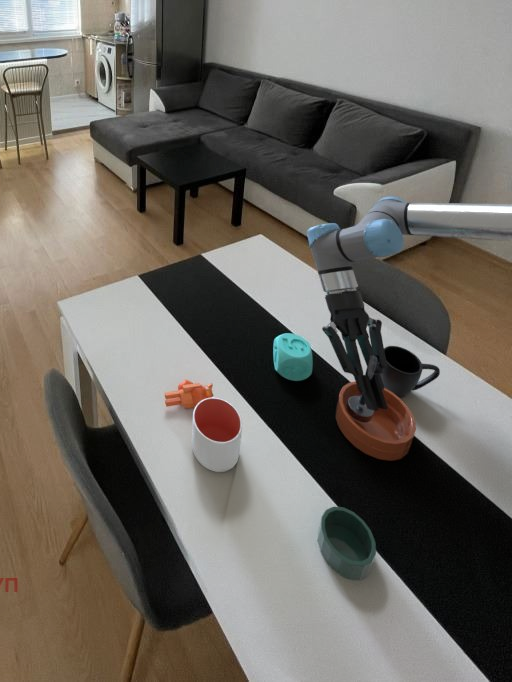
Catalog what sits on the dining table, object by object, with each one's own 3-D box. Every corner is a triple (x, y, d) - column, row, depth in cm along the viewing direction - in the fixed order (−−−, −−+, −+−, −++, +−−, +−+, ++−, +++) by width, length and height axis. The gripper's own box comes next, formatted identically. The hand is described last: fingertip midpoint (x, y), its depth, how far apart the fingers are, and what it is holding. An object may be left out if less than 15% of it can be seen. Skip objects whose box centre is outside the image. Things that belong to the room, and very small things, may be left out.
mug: (437, 411, 98) (448, 382, 95) (378, 398, 102) (386, 369, 98) (425, 381, 106) (434, 352, 102) (370, 370, 109) (378, 342, 106)
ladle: (371, 407, 97) (387, 351, 90) (372, 426, 92) (388, 370, 86) (347, 398, 99) (360, 343, 92) (346, 416, 95) (360, 361, 88)
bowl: (406, 414, 98) (411, 395, 96) (412, 475, 87) (419, 456, 84) (336, 389, 105) (340, 372, 102) (334, 443, 93) (338, 424, 91)
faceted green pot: (369, 537, 78) (374, 521, 76) (371, 593, 71) (376, 576, 69) (319, 513, 81) (322, 497, 79) (315, 564, 74) (319, 548, 73)
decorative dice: (272, 353, 115) (275, 330, 112) (303, 357, 114) (307, 334, 111) (276, 378, 108) (279, 355, 105) (310, 383, 107) (314, 360, 103)
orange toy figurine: (167, 396, 99) (217, 389, 100) (160, 377, 106) (206, 370, 107) (168, 417, 99) (218, 409, 100) (161, 396, 107) (208, 389, 108)
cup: (236, 482, 87) (239, 450, 83) (187, 465, 90) (188, 434, 86) (240, 435, 95) (243, 404, 92) (196, 422, 99) (197, 391, 95)
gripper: (360, 289, 103) (397, 400, 94) (304, 296, 101) (335, 410, 92) (380, 286, 96) (421, 406, 87) (320, 294, 94) (356, 417, 85)
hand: (377, 408), depth 89 cm, fingers closed on ladle
